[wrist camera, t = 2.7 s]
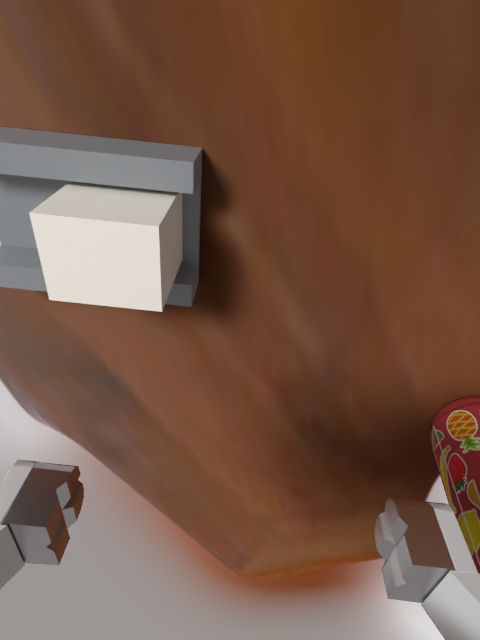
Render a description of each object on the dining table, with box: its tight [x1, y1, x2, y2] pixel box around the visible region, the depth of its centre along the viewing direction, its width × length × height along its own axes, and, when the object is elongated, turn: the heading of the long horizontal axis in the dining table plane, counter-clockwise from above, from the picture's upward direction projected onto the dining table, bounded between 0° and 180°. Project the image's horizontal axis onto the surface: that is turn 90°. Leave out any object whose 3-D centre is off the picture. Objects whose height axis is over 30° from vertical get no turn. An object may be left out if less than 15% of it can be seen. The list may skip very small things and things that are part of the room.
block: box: [29, 181, 182, 312], centre depth 22 cm, size 6×5×6 cm
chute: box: [0, 127, 202, 307], centre depth 24 cm, size 20×9×3 cm, turn 85°
